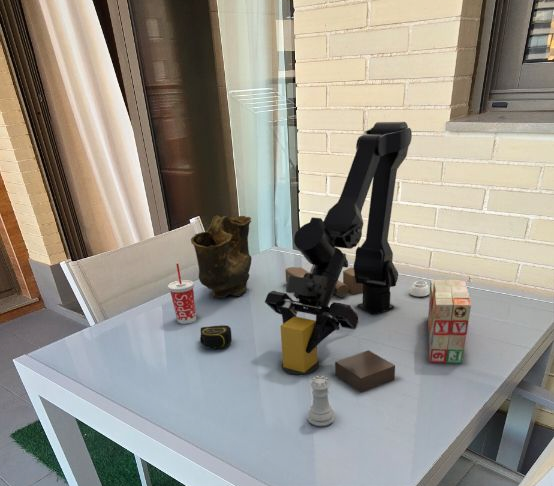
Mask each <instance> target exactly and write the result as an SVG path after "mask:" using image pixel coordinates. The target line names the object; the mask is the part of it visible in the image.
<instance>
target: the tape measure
mask: <svg viewBox="0 0 554 486" xmlns="http://www.w3.org/2000/svg"><path fill="white" fill-rule="evenodd" d="M199 340H200V341H199V342H200V343H201V344H202V346H203V347H204V348H207V349H221V348H225V347H228V346H229V345H230V344H231V343H232V341H233V340H232V328H231V327H230V326H229V325H225V324H224V325H223V324H222V325H221V324H220V325H212V326H202V327H200V338H199Z"/></svg>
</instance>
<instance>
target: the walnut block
mask: <svg viewBox="0 0 554 486" xmlns="http://www.w3.org/2000/svg"><path fill="white" fill-rule="evenodd" d="M334 376H335V377H337V378H338V379H340V380H342V381H343V382H344V383H346V384H347V385H349V386H350V387H352V388H353V389H355V391H358V392H359V393H363V392H366V391H368V390H371V389H373V388H376V387H379V386H382V385H384V384H386V383H388V382H389V383H390V382H392V381H394V380H395V379H396V365H395V364H394V363H391V362H390V361H388V360H386V359H385V358H383V357H381V356H380V355H378V354H376V353H374V352H372V351H370V350H369V349H368V350H365V351H361V352H360V353H357V354H353V355H350V356H348V357H345V358H342V359H339V360H336V361H334Z"/></svg>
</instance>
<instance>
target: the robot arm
mask: <svg viewBox="0 0 554 486" xmlns="http://www.w3.org/2000/svg"><path fill="white" fill-rule="evenodd" d="M412 137H413V132H412V128H411V127H409V126H408V123H407V122H406V121H377V122H375V123H374V125H373V127H370V128H369V129H366V130H364V131H363V134H361V135H360V136H358V138H357V140H356V144H355V147H356V148H355V150H356V151H355V153H354V156H353V159H352V163H351V164H350V168H349V171H348V173H347V176H346V179H345V182H344V185H343V188H342V191H341V193H340V197H339V198H338V201H336V203H335V204H334V205H333V206H331V207H330V208H329V209H328V211H327V213H326V215H325V217H324V220H323V219H322V218H321V217H314V216H313V217H311V218H310V221H309V222H307V223H305V224H303V225H301V227H299V229H298V230H297V231H296V232H295V233H294V237H293V242H294V245H295V248H297V250H298V251H299V252H300V253H301V254H302V256H303V257H304V258H305V260H306V261H307V262H308V263H309V264H311V268H310V271H309V273H306V274H305V275H304V277H303V278H302V277H296V276H290V275H289V278H288V283H287V282H286V283H287V284H286V288H285V292H281V291H276V290H271V291H270V292H268V293H267V295H266V296H265V300H264V303H265V304H266V305H267V306H268V307H269V308H270V309H272V311H273V312H275V313H276V314H278V315H281V317H282V324H284V323H285V322H287V321H288V320H290V319H291V318H293V317H294V316H296V317H298V312H299V313H303V314H309V315H314V316H315V321H316V324H315V327H314V329H313V332H312V334H311V337H310V339H309V342H308V344H307V348H306V352H307V353H310V352H311V351H312V350H313V349H314V348H315V347H316V346H317V347H318V346H319V345H320V344H321V343H322V342H323V341H324V340H325V339H326V338H328V337H329V335H331V334H333V333H334V332H335V331H340V330H341V327H342V328H344V329H350V330H353V331H354V330H356V328H357V327H358V324H359V315H358V314H357V312H356V311H355V310H354V309H353V307H352V306H351V304H346V303H341V302H336V301H333V302H332V303H330V302H331V299H332V296H333V295H337V294H336V293H337V288H336V287H335V286H336V284H337V281H338V280H339V278H340V275H341V273H342V272H343V271H342V270H343V268H347V269H348V267H349V261H348V259H347V254H346V253H345V252H343V251H342V250H341V249H347V250H352V249H354V248H356V247H357V246H358V244H359V243H360V241H361V239H362V236H363V227H364V220H363V215H362V213H363V212H362V211H363V207H364V205H365V202H366V199H367V196H368V193H369V190H370V188H371V191H370V192H371V193H370V194H371V195H370V201H369V211H368V218H367V226H366V236H365V240H364V241H363V242H362V244H361V245H360V246H358V247H357V248H356V250H355V256H354V261H353V262H354V263H353V268H354V274H355V279H356V283H358V284H359V283H360V284H363V292H362V302H361V303H358V304H357V308H359V309H361V310H363V311H364V312H365V311H366V312H367V313H369V314H371V315H377V314H380V313H383V312H386V311H390V310H392V309H395V306H394V305H393V304H391V288H393V287H396V286H397V282H398V280H399V272H398V270H397V268H396V266H395V264H394V262H393V260H394V259H393V258H394V253H393V250H392V247H391V246H390V243H389V233H390V232H389V231H390V224H391V217H392V212H393V211H392V209H393V203H394V196H395V195H394V194H395V187H396V180H397V173H398V169H399V168H400V167H401V165H402V164H403V162H404V161H405V160H406V158H407V155H408V151H409V147H410V145H411V143H412ZM371 185H372V186H371ZM292 293H293V297H294V298H295V299H298V300H294V299H292V298H291V296H289V295H288V294H292ZM329 304H330V305H329ZM340 326H341V327H340Z"/></svg>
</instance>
